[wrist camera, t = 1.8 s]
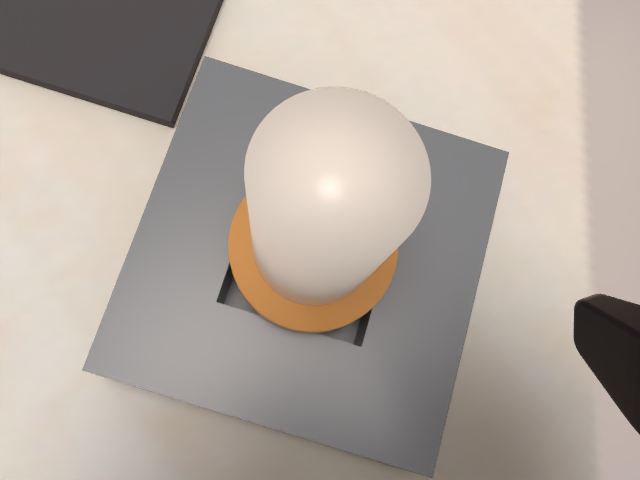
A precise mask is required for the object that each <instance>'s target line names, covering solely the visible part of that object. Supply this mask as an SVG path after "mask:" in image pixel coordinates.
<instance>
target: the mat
mask: <svg viewBox="0 0 640 480" xmlns="http://www.w3.org/2000/svg"><path fill="white" fill-rule="evenodd" d="M222 2H223V0H0V73H1V74H4V75H7V76H10V77H13V78H16V79H20V80H23V81H26V82H29V83H32V84H35V85H39V86H42V87H45V88H48V89H51V90H55V91H58V92H61V93H64V94H67V95H70V96H74V97H77V98H80V99H83V100H86V101H90V102H93V103H96V104H99V105H102V106H105V107H109V108H112V109H115V110H118V111H121V112H125V113H128V114H131V115H134V116H137V117H140V118H144V119H147V120H150V121H153V122H156V123H159V124H163V125H166V126H169V127H172V128H173V127H174V124H175V122H176V119H177V117H178V114H179V112H180V109H181V107H182V104H183V102H184V99H185V96H186V94H187V91H188V89H189V86H190V84H191V81H192V79H193V76H194V73H195V71H196V68H197V66H198V63H199V61H200V58H201V56H202V53H203V50H204V48H205V45H206V43H207V40H208V38H209V35H210V33H211V30H212V28H213V25H214V22H215V20H216V17H217V15H218V12H219V10H220V7H221V5H222Z"/></svg>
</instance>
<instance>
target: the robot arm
mask: <svg viewBox="0 0 640 480" xmlns="http://www.w3.org/2000/svg"><path fill="white" fill-rule="evenodd" d="M574 343H575V346H576V348H577V350H578V352H579V353H580V355H581V356H582V358H583V359H584V360H585V362H586V363H587V365H588V366H589V367H590V369H591V370H592V372H593V373H594V374H595V376H596V377H597V379H598V380H599V381H600V383H601V384H602V385H603V387H604V388H605V390H606V391H607V392H608V394H609V395H610V397H611V398H612V399H613V401H614V402H615V403H616V405H617V406H618V408H619V409H620V410H621V412H622V413H623V414H624V416H625V417H626V418H627V420H628V421H629V422H630V424H631V425H632V426H633V427H634V428H635V430H636V431H637V432H638V433H639V434H640V305H638V304H634V303H631V302H627V301H624V300H621V299H617V298H614V297H611V296H607V295H603V294H595V295H592V296H589V297H586V298H583V299H580V300H578V301H577V302H576V304H575V307H574Z"/></svg>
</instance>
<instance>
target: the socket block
mask: <svg viewBox="0 0 640 480" xmlns="http://www.w3.org/2000/svg"><path fill="white" fill-rule="evenodd" d="M308 90H310V89H307V88H304V87H301V86H298V85H294V84H291V83H288V82H285V81H282V80H279V79H275V78H272V77H269V76H266V75H263V74H260V73H257V72H253V71H250V70H247V69H244V68H241V67H238V66H234V65H231V64H228V63H225V62H222V61H219V60H215V59H212V58H209V57H206V56H205V57H204V59H203V62H202V64H201V67H200V69H199V72H198V75H197V77H196V80H195V82H194V85H193V87H192V90H191V92H190V95H189V98H188V100H187V103H186V105H185V108H184V110H183V113H182V116H181V118H180V121H179V123H178V126H177V128H176V131H175V133H174V136H173V139H172V141H171V144H170V146H169V149H168V151H167V154H166V157H165V159H164V162H163V164H162V167H161V169H160V172H159V175H158V177H157V180H156V182H155V185H154V187H153V190H152V192H151V195H150V198H149V200H148V203H147V205H146V208H145V210H144V213H143V216H142V218H141V221H140V223H139V226H138V228H137V231H136V233H135V236H134V239H133V241H132V244H131V246H130V249H129V251H128V254H127V257H126V259H125V262H124V264H123V267H122V269H121V272H120V274H119V277H118V280H117V282H116V285H115V287H114V290H113V292H112V295H111V298H110V300H109V303H108V305H107V308H106V310H105V313H104V315H103V318H102V321H101V323H100V326H99V328H98V331H97V333H96V336H95V339H94V341H93V344H92V346H91V349H90V351H89V354H88V356H87V359H86V362H85V364H84V367H83V369H82V370H83V371H86V372H89V373H93V374H96V375H99V376H102V377H106V378H109V379H112V380H115V381H119V382H122V383H125V384H128V385H132V386H135V387H138V388H141V389H145V390H148V391H151V392H154V393H158V394H161V395H164V396H167V397H171V398H174V399H177V400H180V401H184V402H187V403H190V404H193V405H197V406H200V407H203V408H206V409H210V410H213V411H216V412H219V413H223V414H226V415H229V416H232V417H236V418H239V419H242V420H245V421H249V422H252V423H255V424H258V425H262V426H265V427H268V428H271V429H275V430H278V431H281V432H284V433H288V434H291V435H294V436H297V437H301V438H304V439H307V440H310V441H314V442H317V443H320V444H323V445H326V446H330V447H333V448H336V449H339V450H343V451H346V452H349V453H352V454H356V455H359V456H362V457H365V458H369V459H372V460H375V461H378V462H382V463H385V464H388V465H391V466H395V467H398V468H401V469H404V470H408V471H411V472H414V473H417V474H421V475H424V476H427V477H430V478H432V477H433V472H434V468H435V464H436V460H437V456H438V451H439V447H440V443H441V439H442V434H443V430H444V426H445V422H446V417H447V413H448V409H449V405H450V401H451V396H452V392H453V388H454V384H455V379H456V375H457V371H458V367H459V362H460V358H461V354H462V350H463V345H464V341H465V337H466V333H467V329H468V324H469V320H470V316H471V312H472V307H473V303H474V299H475V295H476V290H477V286H478V282H479V278H480V274H481V269H482V265H483V261H484V257H485V252H486V248H487V244H488V240H489V235H490V231H491V227H492V223H493V219H494V214H495V210H496V206H497V202H498V197H499V193H500V189H501V185H502V180H503V176H504V172H505V168H506V164H507V159H508V155H509V152H506V151H503V150H500V149H497V148H493V147H490V146H487V145H484V144H481V143H478V142H474V141H471V140H468V139H465V138H462V137H459V136H456V135H452V134H449V133H446V132H443V131H440V130H437V129H433V128H430V127H427V126H424V125H421V124H418V123H414V122H411V121H409V122H410V123H411V124H412V125H413V127H414V128H415V130H416V131H417V132H418V134H419V136H420V138H421V140H422V142H423V144H424V146H425V149H426V152H427V154H428V158H429V163H430V169H431V190H430V196H429V201H428V204H427V207H426V210H425V212H424V214H423V216H422V218H421V220H420V222H419V224H418V225H417V227H416V228H415V230H414V231H413V232H412V234H411V235H410V236H409V237H408V238H407V239H406V240H405V241H404V242H403V243H402V244H401V245H400V246H399V247H398V257H397V264H396V269H395V272H394V275H393V278H392V281H391V283H390V285H389V287H388V289H387V291H386V292H385V293H384V295H383V296H382V298H381V299H380V300H379V301H378V303H377V304H376V305H375V306H374V307H373V308H372V309H371V310H369V311H368V312H367V313H366V314H365V315H363V316H362V317H360V318H358V319H357V320H355V321H354V322H352V323H351V324H349V325H346V326H344V327H342V328H339V329H336V330H333V331H329V332H323V333H300V332H295V331H290V330H287V329H284V328H281V327H279V326H277V325H275V324H273V323H271V322H269V321H267V320H266V319H265V318H263V317H262V316H261V315H259V314H258V313H257V312H256V311H255V310H254V309H253V308H252V307H251V306H250V305H249V303H248V302H247V301H246V300H245V298H244V297H243V295H242V293H241V292H240V290H239V288H238V286H237V283H236V281H235V279H234V276H233V273H232V269H231V266H230V261H229V254H228V239H229V231H230V227H231V223H232V220H233V217H234V215H235V213H236V210H237V208H238V207H239V205H240V203H241V202H242V200H243V199H244V198H245V196H246V190H245V182H244V165H245V157H246V153H247V149H248V146H249V143H250V141H251V139H252V136H253V134H254V132H255V131H256V129H257V127H258V126H259V124H260V123H261V122H262V120H263V119H264V118H265V117H266V116H267V115H268V114H269V113H270V112H271V111H272V110H273V109H274V108H275V107H276V106H278V105H279V104H281V103H282V102H283V101H285V100H287V99H288V98H290V97H292V96H294V95H296V94H299V93H302V92H304V91H308Z"/></svg>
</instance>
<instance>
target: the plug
mask: <svg viewBox="0 0 640 480" xmlns="http://www.w3.org/2000/svg"><path fill="white" fill-rule="evenodd" d="M244 182H245V190H246V196H245V198H244V199H243V200H242V202H241V203H240V205H239V207H238V208H237V210H236V213H235V215H234V217H233V220H232V223H231V227H230V231H229V239H228V254H229V261H230V266H231V269H232V273H233V276H234V279H235V281H236V283H237V286H238V288H239V290H240V292H241V293H242V295H243V297H244V298H245V300H246V301H247V302H248V303H249V305H250V306H251V307H252V308H253V309H254V310H255V311H256V312H257V313H258V314H259V315H261V316H262V317H263V318H265V319H266V320H267V321H269V322H271V323H273V324H275V325H277V326H279V327H281V328H284V329H287V330H290V331H295V332H300V333H323V332H329V331H333V330H336V329H339V328H342V327H344V326H346V325H349V324H351V323H352V322H354V321H355V320H357V319H358V318H360V317H362V316H363V315H365V314H366V313H367V312H368V311H369V310H371V309H372V308H373V307H374V306H375V305H376V304H377V303H378V301H379V300H380V299H381V298H382V296H383V295H384V293H385V292H386V291H387V289H388V287H389V285H390V283H391V281H392V278H393V275H394V272H395V269H396V264H397V257H398V247H399V246H400V245H401V244H402V243H403V242H404V241H405V240H406V239H407V238H408V237H409V236H410V235H411V234H412V232H413V231H414V230H415V228H416V227H417V225H418V224H419V222H420V220H421V218H422V216H423V214H424V212H425V210H426V207H427V204H428V201H429V196H430V190H431V169H430V163H429V158H428V154H427V152H426V149H425V146H424V144H423V142H422V140H421V138H420V136H419V134H418V132H417V131H416V130H415V128H414V127H413V125H412V124H411V123H410V122H409V120H408V119H407V118H406V117H405V116H404V115H403V114H402V113H401V112H400V111H398V110H397V109H396V108H395V107H394V106H392V105H391V104H389V103H388V102H386V101H385V100H383V99H381V98H379V97H377V96H375V95H372V94H370V93H367V92H365V91H361V90H357V89H353V88H346V87H323V88H316V89H312V90H308V91H304V92H302V93H299V94H296V95H294V96H292V97H290V98H288V99H287V100H285V101H283V102H282V103H281V104H279V105H278V106H276V107H275V108H274V109H273V110H272V111H271V112H270V113H269V114H268V115H267V116H266V117H265V118H264V119H263V120H262V122H261V123H260V124H259V126H258V127H257V129H256V131H255V132H254V134H253V136H252V139H251V141H250V143H249V146H248V149H247V153H246V157H245V165H244Z"/></svg>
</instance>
